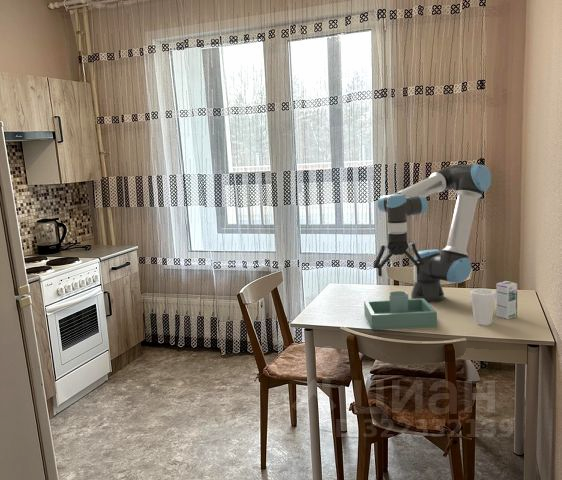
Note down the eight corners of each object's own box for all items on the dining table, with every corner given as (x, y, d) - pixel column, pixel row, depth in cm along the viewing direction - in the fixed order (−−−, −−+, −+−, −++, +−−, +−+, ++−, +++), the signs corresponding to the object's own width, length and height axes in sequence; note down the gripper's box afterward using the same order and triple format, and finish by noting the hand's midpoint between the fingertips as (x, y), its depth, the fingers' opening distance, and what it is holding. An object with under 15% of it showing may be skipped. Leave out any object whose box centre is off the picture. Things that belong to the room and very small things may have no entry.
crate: (423, 311, 222) (423, 298, 221) (436, 326, 202) (436, 312, 201) (364, 314, 222) (364, 301, 221) (371, 329, 203) (371, 315, 202)
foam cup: (494, 319, 206) (495, 288, 204) (496, 327, 198) (496, 295, 195) (469, 318, 209) (470, 288, 207) (470, 325, 201) (470, 294, 199)
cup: (389, 319, 209) (389, 296, 207) (389, 313, 216) (389, 291, 215) (408, 319, 207) (408, 296, 206) (408, 313, 215) (407, 291, 213)
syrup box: (507, 319, 205) (508, 285, 203) (495, 316, 210) (496, 282, 208) (517, 317, 208) (518, 282, 205) (505, 313, 213) (505, 280, 211)
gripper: (425, 228, 209) (426, 278, 213) (365, 232, 210) (367, 282, 214) (430, 231, 202) (431, 283, 206) (368, 235, 203) (370, 286, 206)
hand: (398, 282), depth 210 cm, fingers open, 13 cm apart
